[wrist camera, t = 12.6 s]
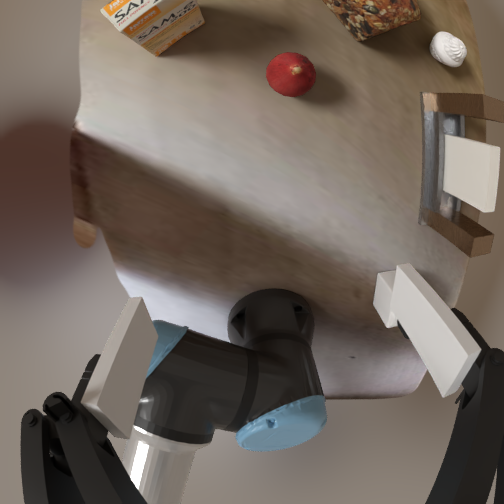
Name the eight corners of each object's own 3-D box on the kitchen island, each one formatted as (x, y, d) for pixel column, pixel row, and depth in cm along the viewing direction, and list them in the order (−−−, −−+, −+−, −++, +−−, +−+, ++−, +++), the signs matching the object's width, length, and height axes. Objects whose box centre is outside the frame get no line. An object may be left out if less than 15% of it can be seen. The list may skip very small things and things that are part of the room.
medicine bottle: (403, 298, 48) (432, 338, 37) (372, 304, 48) (397, 349, 37) (410, 266, 44) (444, 305, 34) (377, 272, 45) (408, 315, 34)
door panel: (446, 186, 37) (494, 211, 26) (436, 186, 37) (484, 212, 26) (448, 134, 33) (500, 147, 22) (437, 133, 33) (490, 145, 22)
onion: (287, 51, 29) (299, 35, 22) (316, 82, 31) (335, 73, 24) (255, 76, 31) (258, 64, 23) (284, 107, 33) (296, 103, 25)
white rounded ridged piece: (446, 75, 29) (473, 74, 22) (419, 55, 28) (446, 50, 21) (451, 48, 26) (477, 44, 20) (425, 28, 25) (450, 20, 19)
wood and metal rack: (450, 219, 40) (495, 251, 29) (418, 223, 41) (463, 259, 29) (454, 98, 30) (509, 103, 19) (419, 91, 31) (475, 92, 19)
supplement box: (157, 58, 29) (118, 34, 17) (139, 38, 27) (97, 10, 15) (207, 23, 27) (191, -17, 15) (188, 3, 25) (165, -39, 13)
